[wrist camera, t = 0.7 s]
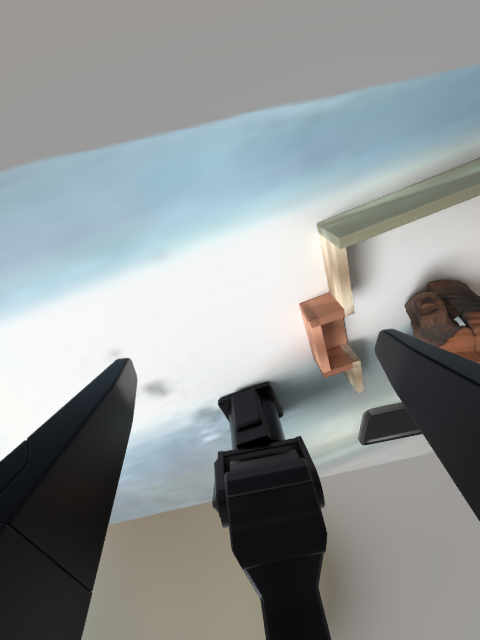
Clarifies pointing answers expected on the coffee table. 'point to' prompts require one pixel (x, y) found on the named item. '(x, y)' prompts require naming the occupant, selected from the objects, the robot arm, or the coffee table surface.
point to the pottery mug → (447, 318)
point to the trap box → (360, 225)
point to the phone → (387, 424)
